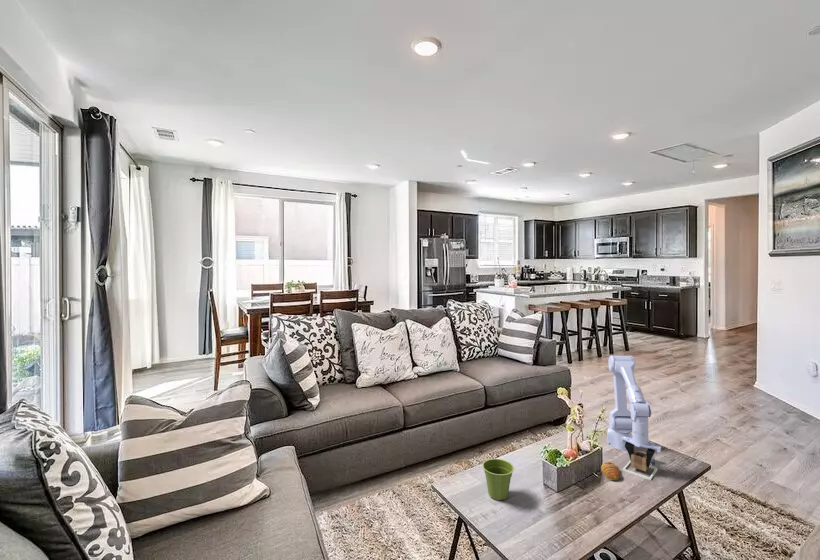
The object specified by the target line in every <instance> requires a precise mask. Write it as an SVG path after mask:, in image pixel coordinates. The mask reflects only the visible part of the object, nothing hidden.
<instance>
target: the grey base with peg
mask: <svg viewBox="0 0 820 560" xmlns="http://www.w3.org/2000/svg"><path fill="white" fill-rule="evenodd" d="M662 463H663V461H660V460H657V459H656V452H655V453H654V455H653V457H652V459H651V462H650V466H651V467H654V468H660V466H661V465H662Z"/></svg>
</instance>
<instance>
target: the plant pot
mask: <svg viewBox="0 0 820 560" xmlns="http://www.w3.org/2000/svg"><path fill="white" fill-rule="evenodd" d="M481 465H482V466H481V467H482V469H483V470H484V476H485V480H486V485H487V486H486V487H487V492H488V495H489V497H490V496H491V497H492V498H491V497H490V498H491V499H493V500H497V501H501V500H506V499H508V496H509V490H510V484H511V478H512V476H513V473H514V471H515V467H514V465H513V464H512V463H511V462H509V461H507V460H505V459H502V458H490V459H485V460H484V461H483V463H482V464H481Z"/></svg>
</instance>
